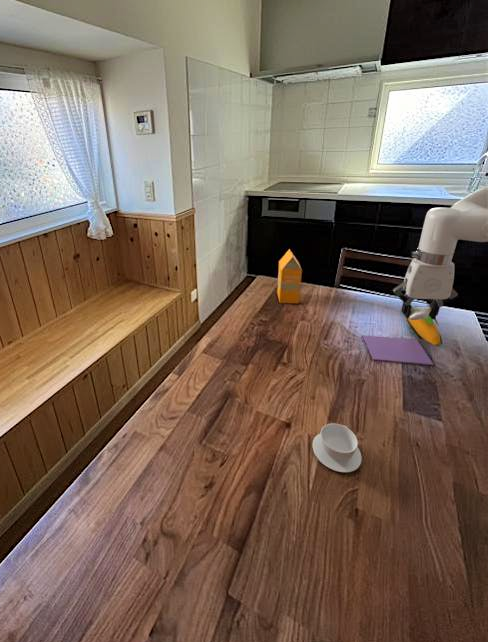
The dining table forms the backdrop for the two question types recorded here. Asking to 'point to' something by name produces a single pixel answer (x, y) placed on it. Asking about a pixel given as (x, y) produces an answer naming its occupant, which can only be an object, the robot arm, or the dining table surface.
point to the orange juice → (289, 279)
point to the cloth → (397, 350)
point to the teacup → (337, 448)
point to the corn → (426, 330)
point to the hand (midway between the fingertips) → (418, 315)
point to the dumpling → (419, 313)
